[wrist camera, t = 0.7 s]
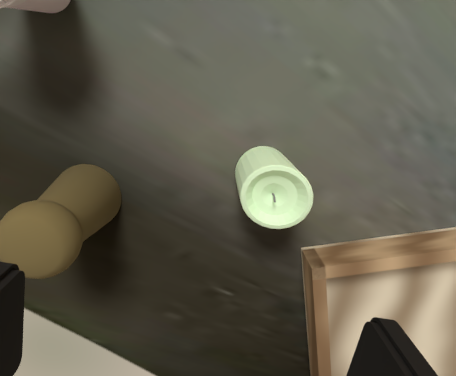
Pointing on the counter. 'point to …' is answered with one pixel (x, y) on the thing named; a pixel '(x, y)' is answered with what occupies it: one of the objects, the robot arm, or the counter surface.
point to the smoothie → (36, 5)
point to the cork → (59, 221)
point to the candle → (272, 188)
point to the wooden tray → (381, 296)
